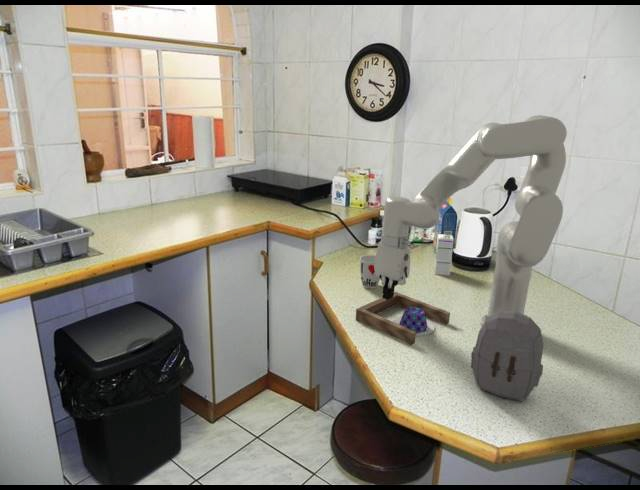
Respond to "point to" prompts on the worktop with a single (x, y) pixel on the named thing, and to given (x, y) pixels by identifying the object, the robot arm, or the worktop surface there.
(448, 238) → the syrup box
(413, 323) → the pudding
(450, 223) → the blue food package
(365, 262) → the cup
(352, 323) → the worktop surface
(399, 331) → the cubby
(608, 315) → the worktop surface
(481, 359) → the small grey backpack
